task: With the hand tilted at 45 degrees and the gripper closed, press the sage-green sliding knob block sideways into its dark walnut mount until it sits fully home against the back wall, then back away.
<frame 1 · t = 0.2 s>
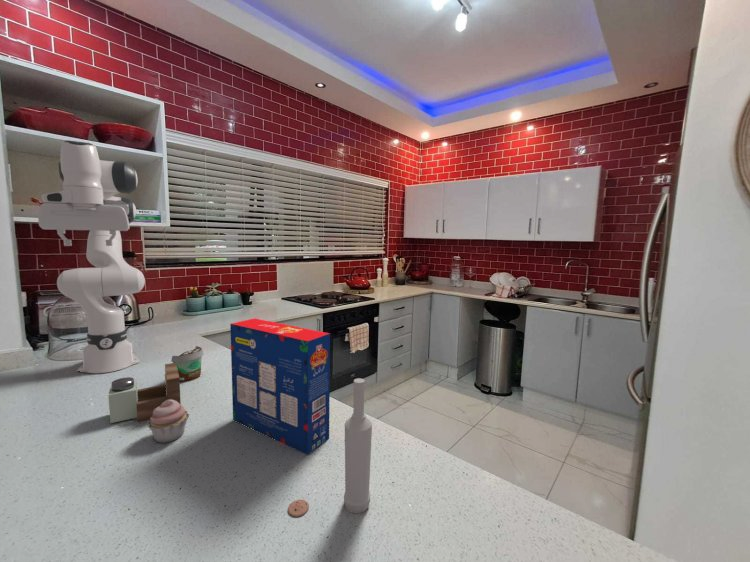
hand: (89, 245, 99), 48 cm above the countertop, tool pointing down, fingers open, 8 cm apart
sliding knob: (123, 397, 94), point 5 cm above the countertop, slide at 7.0 cm
walnut mount: (154, 409, 98), on the countertop
cupcake: (169, 437, 85), on the countertop
bottle: (357, 504, 64), on the countertop
food container: (193, 378, 121), on the countertop
cookie: (298, 510, 63), on the countertop
pasta box: (279, 430, 89), on the countertop
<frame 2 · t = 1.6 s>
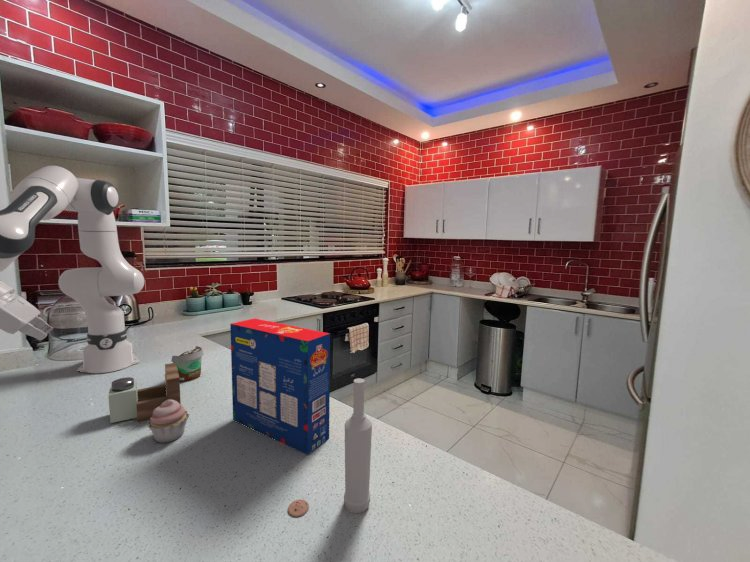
hand: (47, 334, 83), 26 cm above the countertop, tool tilted 45°, fingers open, 8 cm apart
nothing on the countertop moved.
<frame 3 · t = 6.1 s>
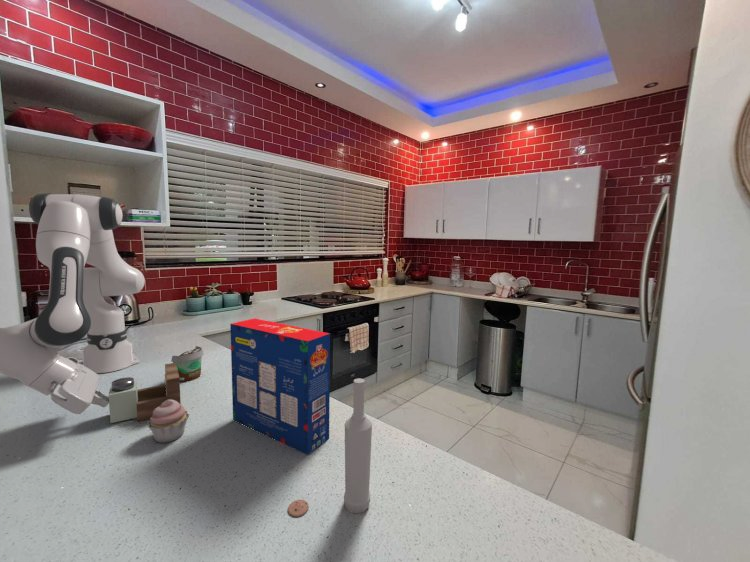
hand: (107, 403, 92), 5 cm above the countertop, tool tilted 45°, fingers closed, pressing on sliding knob
sliding knob: (123, 397, 94), point 5 cm above the countertop, slide at 7.0 cm, touching gripper
everything else where it was.
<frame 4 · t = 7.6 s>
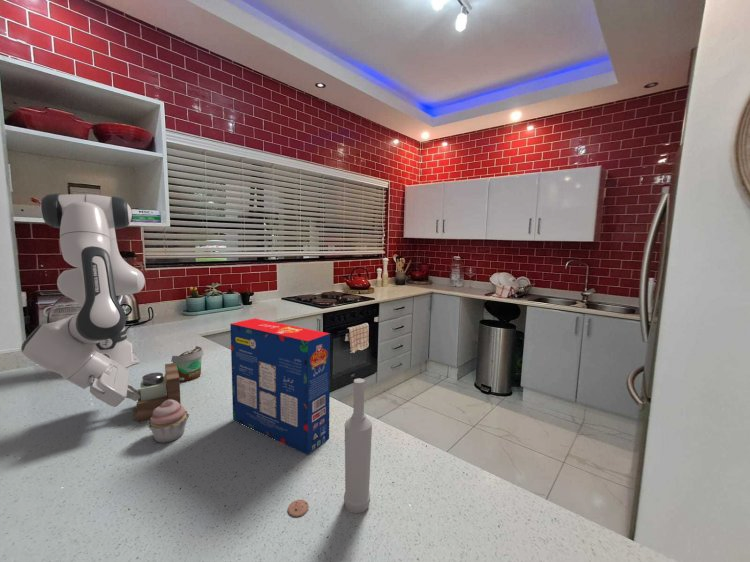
hand: (138, 397, 96), 5 cm above the countertop, tool tilted 45°, fingers closed, pressing on sliding knob
sliding knob: (153, 392, 97), point 5 cm above the countertop, slide at 0.0 cm, touching gripper, walnut mount
everything else where it was.
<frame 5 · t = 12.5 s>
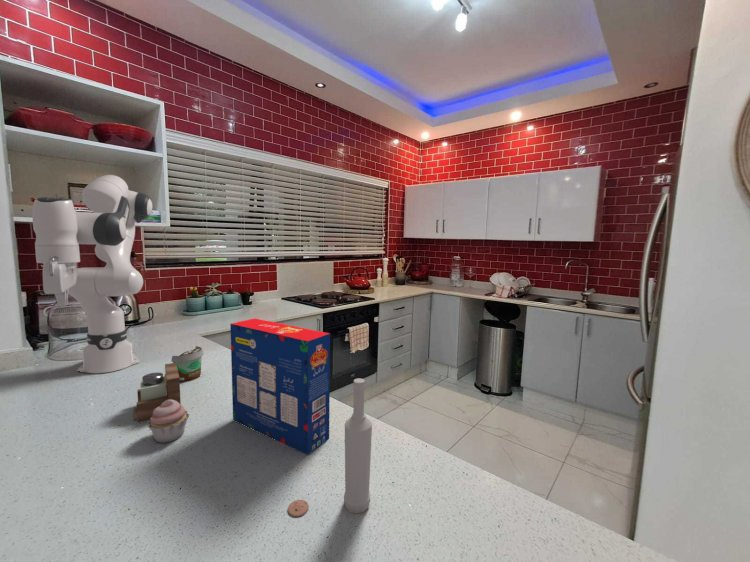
hand: (62, 305, 93), 31 cm above the countertop, tool pointing down, fingers closed
sliding knob: (153, 392, 97), point 5 cm above the countertop, slide at 0.0 cm, touching walnut mount
everything else where it was.
at the end: sliding knob slide at 0.0 cm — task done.
